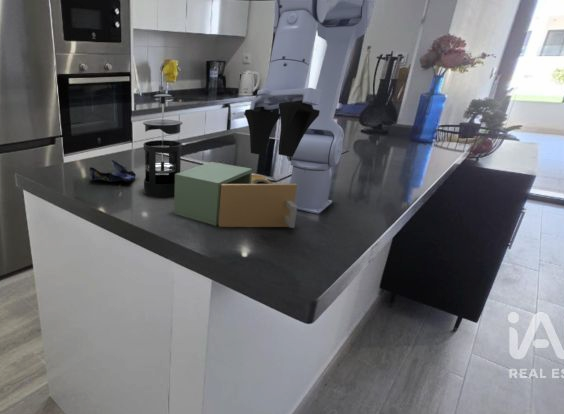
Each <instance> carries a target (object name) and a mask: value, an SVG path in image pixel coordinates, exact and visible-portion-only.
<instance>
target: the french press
mask: <svg viewBox="0 0 564 414" xmlns="http://www.w3.org/2000/svg"><path fill="white" fill-rule="evenodd" d="M172 97H173V95H172V94H167V93H159V94H155V95H153V98H160V104H161V119H152V120H146V121H143V122H142V124H143V126H144V131H145V133H147V132H148V131H153V130H155V131H156V130H160V131H161V139H159V140H157V139H156V140H149V141H145V142H143V151H144V161H145V162H144V174H145V177H144V178H143V189H142V194H143V195H144V196H146V197H148V198H154V199H172V198H175V174H177V173H180V172H181V160H182V159H181V158H182V157H181V156H182V150H183V143H182V142H181V141H180V140H174V139H172V140H168V139H164V135H165V134H167V135H175V134H180V133H181V125H183V122H182V121H180V120H174V119H165V118H164V114H165V109H164V108H165V104H166V98H172ZM164 133H165V134H164ZM164 146H165V147H164ZM157 154H161V162H156V160H157V159H156V158H157V156H156V155H157ZM164 154H168V162H164Z"/></svg>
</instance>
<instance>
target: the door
mask: <svg viewBox="0 0 564 414" xmlns="http://www.w3.org/2000/svg"><path fill="white" fill-rule="evenodd" d="M296 190H297V184H291V183H271V184H221V195H220V211H219V224H218V227H219V228H291V229H294V228H295V225H296V219H297V212H298V210H297V206H296V205H295V197H296Z"/></svg>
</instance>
